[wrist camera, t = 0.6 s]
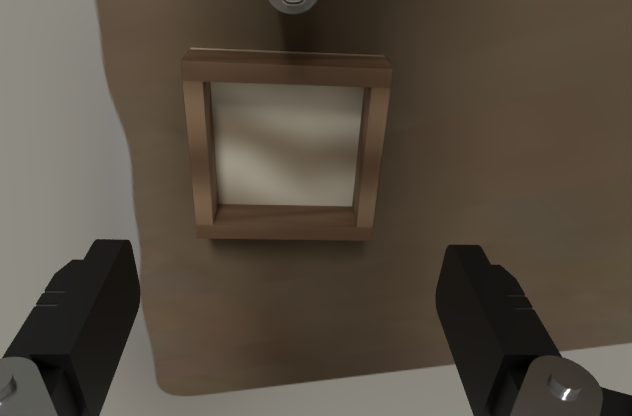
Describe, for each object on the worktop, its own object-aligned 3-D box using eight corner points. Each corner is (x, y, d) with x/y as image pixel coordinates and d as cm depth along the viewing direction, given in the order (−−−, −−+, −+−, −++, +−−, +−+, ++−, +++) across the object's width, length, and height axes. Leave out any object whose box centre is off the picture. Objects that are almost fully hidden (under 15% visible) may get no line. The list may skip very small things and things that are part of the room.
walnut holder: (191, 47, 32) (180, 61, 29) (383, 55, 33) (393, 68, 30) (204, 213, 38) (197, 238, 35) (364, 216, 39) (370, 240, 36)
